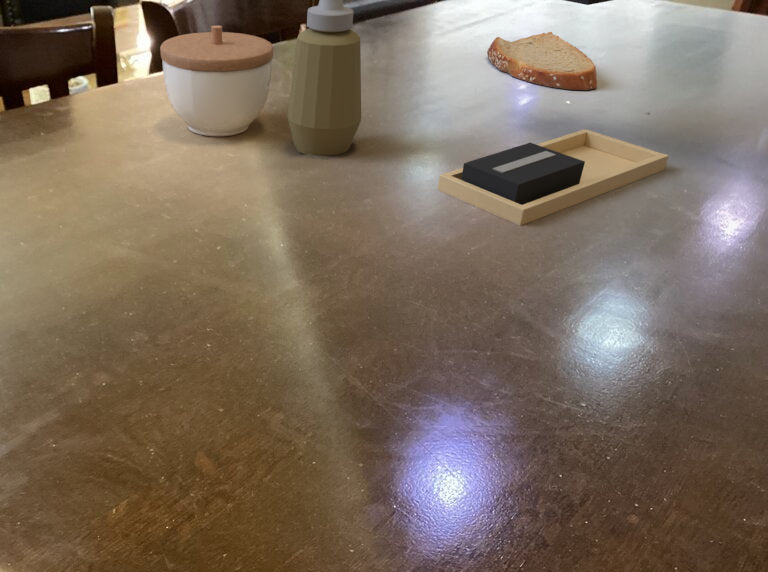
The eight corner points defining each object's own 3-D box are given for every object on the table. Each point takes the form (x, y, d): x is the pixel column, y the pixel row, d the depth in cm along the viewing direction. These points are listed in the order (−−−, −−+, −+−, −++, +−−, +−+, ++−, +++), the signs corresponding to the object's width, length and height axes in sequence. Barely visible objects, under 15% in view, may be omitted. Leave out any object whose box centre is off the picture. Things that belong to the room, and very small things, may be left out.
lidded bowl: (288, 118, 98) (291, 21, 92) (243, 151, 89) (243, 45, 83) (196, 104, 103) (193, 9, 96) (144, 134, 93) (137, 32, 87)
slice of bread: (590, 94, 108) (598, 65, 106) (461, 73, 116) (465, 45, 113) (619, 64, 120) (626, 37, 118) (501, 47, 128) (505, 21, 126)
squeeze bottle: (349, 167, 86) (364, -21, 75) (276, 157, 88) (281, -27, 77) (366, 142, 92) (382, -35, 82) (297, 133, 94) (304, -40, 84)
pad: (524, 170, 84) (530, 141, 82) (577, 190, 80) (585, 160, 78) (458, 192, 79) (463, 161, 78) (512, 215, 75) (518, 183, 73)
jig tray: (580, 146, 92) (585, 128, 91) (663, 173, 85) (669, 155, 84) (436, 194, 80) (439, 174, 79) (519, 230, 74) (523, 209, 73)
